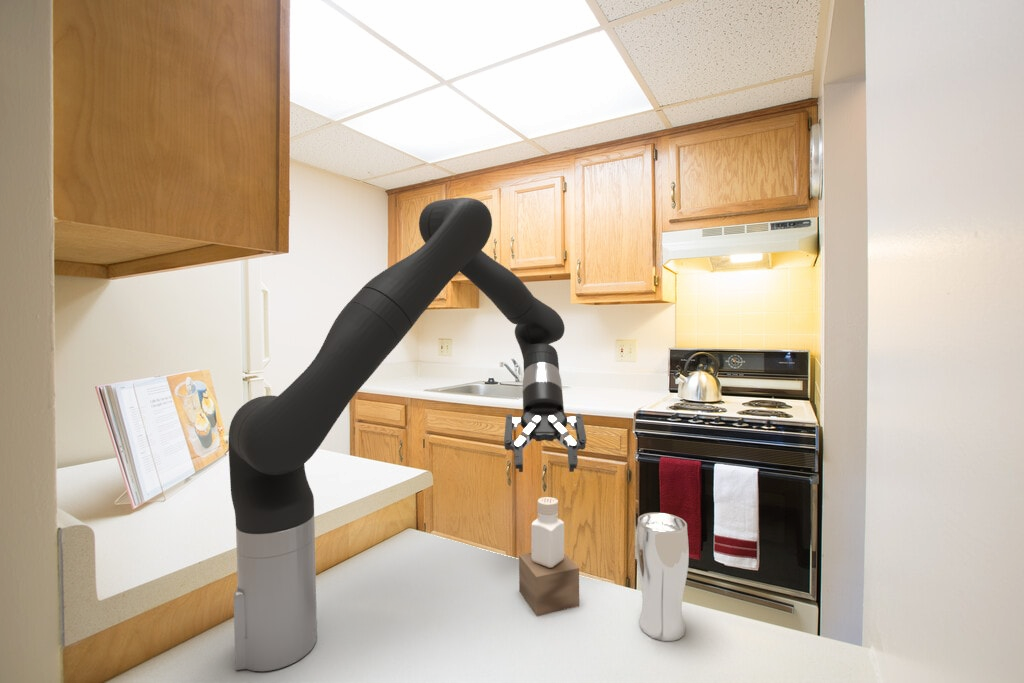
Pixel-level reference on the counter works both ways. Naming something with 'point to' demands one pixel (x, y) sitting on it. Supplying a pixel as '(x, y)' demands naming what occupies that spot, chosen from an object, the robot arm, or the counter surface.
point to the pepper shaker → (547, 534)
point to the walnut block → (549, 585)
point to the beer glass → (662, 574)
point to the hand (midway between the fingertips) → (546, 469)
